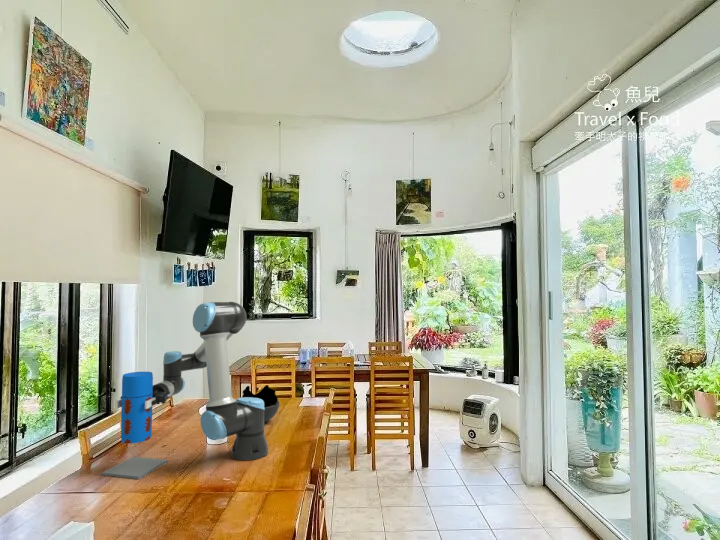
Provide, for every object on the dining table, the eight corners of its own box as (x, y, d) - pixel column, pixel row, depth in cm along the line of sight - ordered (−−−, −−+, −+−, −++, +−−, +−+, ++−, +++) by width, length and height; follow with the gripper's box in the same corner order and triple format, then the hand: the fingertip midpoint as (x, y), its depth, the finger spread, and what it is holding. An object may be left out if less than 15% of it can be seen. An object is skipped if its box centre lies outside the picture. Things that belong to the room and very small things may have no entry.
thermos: (138, 444, 163) (140, 377, 164) (114, 442, 165) (115, 376, 166) (157, 434, 174) (158, 371, 175) (134, 433, 176) (135, 370, 177)
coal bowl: (287, 420, 231) (287, 384, 231) (259, 431, 214) (259, 392, 215) (260, 414, 241) (260, 380, 242) (231, 424, 224) (232, 387, 225)
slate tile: (167, 462, 175) (167, 460, 175) (138, 479, 159) (138, 476, 159) (133, 459, 179) (133, 456, 179) (102, 475, 163) (102, 472, 163)
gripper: (187, 400, 187) (160, 415, 165) (134, 399, 189) (101, 414, 167) (187, 383, 188) (160, 395, 166) (135, 382, 189) (102, 394, 167)
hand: (131, 405), depth 166 cm, fingers closed on thermos, 11 cm apart
